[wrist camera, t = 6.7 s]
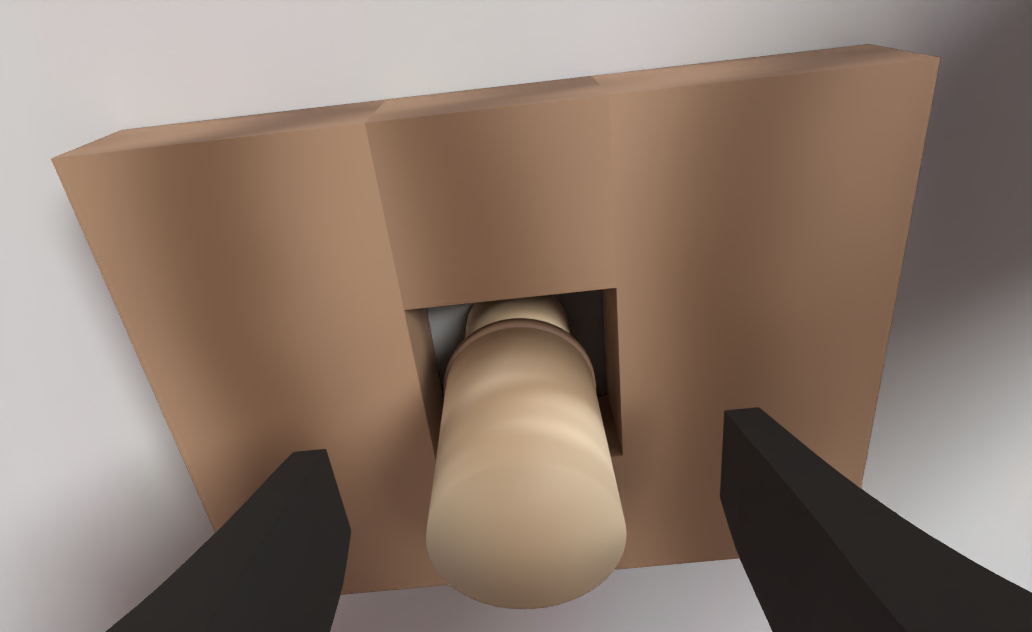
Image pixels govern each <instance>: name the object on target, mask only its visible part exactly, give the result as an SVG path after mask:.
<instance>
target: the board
mask: <svg viewBox="0 0 1032 632" xmlns="http://www.w3.org/2000/svg"><path fill="white" fill-rule="evenodd" d="M939 62H940V57H936V56H930V55H925V54H919V53H914V52H909V51H903V50H898V49H892V48H887V47H882V46H876V45H871V44H865V45H857V46H848V47H839V48H831V49H822V50H813V51H805V52H796V53H787V54H778V55H770V56H761V57H752V58H744V59H735V60H726V61H718V62H709V63H700V64H692V65H683V66H674V67H665V68H657V69H648V70H639V71H631V72H622V73H613V74H605V75H596V76H587V77H578V78H570V79H561V80H552V81H544V82H535V83H526V84H518V85H509V86H500V87H491V88H483V89H474V90H465V91H457V92H448V93H439V94H431V95H422V96H413V97H404V98H396V99H387V100H378V101H370V102H361V103H352V104H344V105H335V106H326V107H317V108H309V109H300V110H291V111H283V112H274V113H265V114H257V115H248V116H239V117H230V118H222V119H213V120H204V121H196V122H187V123H178V124H170V125H161V126H152V127H144V128H135V129H126V130H120V131H118V132H116V133H113V134H111V135H108V136H106V137H103V138H101V139H98V140H96V141H93V142H91V143H88V144H86V145H84V146H81V147H79V148H76V149H74V150H71V151H69V152H66V153H64V154H61V155H59V156H56V157H54V158H52V159H51V160H52V162H53V165H54V167H55V169H56V171H57V174H58V176H59V178H60V180H61V183H62V185H63V187H64V190H65V192H66V194H67V196H68V199H69V201H70V203H71V205H72V208H73V210H74V212H75V215H76V217H77V219H78V221H79V224H80V226H81V228H82V230H83V233H84V235H85V237H86V240H87V242H88V244H89V246H90V249H91V251H92V253H93V255H94V258H95V260H96V262H97V265H98V267H99V269H100V271H101V274H102V276H103V278H104V280H105V283H106V285H107V287H108V290H109V292H110V294H111V296H112V299H113V301H114V303H115V305H116V308H117V310H118V312H119V315H120V317H121V319H122V321H123V324H124V326H125V328H126V330H127V333H128V335H129V337H130V340H131V342H132V344H133V346H134V349H135V351H136V353H137V355H138V358H139V360H140V362H141V365H142V367H143V369H144V371H145V374H146V376H147V378H148V380H149V383H150V385H151V387H152V390H153V392H154V394H155V396H156V399H157V401H158V403H159V405H160V408H161V410H162V412H163V415H164V417H165V419H166V421H167V424H168V426H169V428H170V430H171V433H172V435H173V437H174V440H175V442H176V444H177V446H178V449H179V451H180V453H181V455H182V458H183V460H184V462H185V465H186V467H187V469H188V471H189V474H190V476H191V478H192V480H193V483H194V485H195V487H196V489H197V492H198V494H199V496H200V499H201V501H202V503H203V505H204V508H205V510H206V512H207V514H208V517H209V519H210V521H211V524H212V526H213V528H214V530H215V533H216V532H217V531H218V530H219V529H220V528H221V527H222V526H223V525H224V524H225V523H226V522H227V521H228V520H229V519H230V517H231V516H232V515H233V514H234V513H235V512H236V511H237V510H238V509H239V508H240V507H241V506H242V505H243V504H244V503H245V502H246V501H247V500H248V499H249V498H250V497H251V496H252V495H253V493H254V492H255V491H256V490H257V489H258V488H259V487H260V486H261V485H262V484H263V483H264V482H265V481H266V480H267V479H268V477H269V476H270V475H271V474H272V473H273V472H274V471H275V470H276V469H277V468H278V467H279V466H280V465H281V464H282V463H283V462H284V461H285V460H286V459H287V458H288V457H289V456H290V455H291V454H292V453H293V452H297V451H307V450H318V449H326V450H327V453H328V457H329V460H330V463H331V466H332V470H333V473H334V476H335V479H336V482H337V486H338V489H339V492H340V495H341V499H342V502H343V505H344V508H345V511H346V515H347V518H348V521H349V524H350V528H351V538H350V545H349V552H348V559H347V565H346V571H345V577H344V583H343V587H342V591H341V594H340V595H343V594H354V593H365V592H375V591H386V590H397V589H408V588H419V587H430V586H441V585H449V584H448V583H447V582H446V581H445V580H444V579H443V578H442V577H441V576H440V575H439V573H438V572H437V570H436V569H435V568H434V566H433V564H432V562H431V560H430V558H429V554H428V551H427V545H426V531H427V523H428V515H429V508H430V501H431V493H432V486H433V478H434V471H435V463H436V456H437V449H438V441H439V434H440V426H441V419H442V412H443V404H444V398H443V393H442V387H441V382H440V377H439V372H438V367H437V361H436V356H435V351H434V346H433V340H432V335H431V330H430V325H429V320H428V314H427V309H426V308H428V307H438V306H447V305H457V304H466V303H476V302H485V301H495V300H504V299H514V298H523V297H533V296H543V295H552V294H562V293H571V292H581V291H590V290H600V289H602V293H603V314H604V334H605V354H606V374H607V395H604V396H597V399H598V403H599V408H600V412H601V417H602V421H603V426H604V430H605V435H606V439H607V443H608V448H609V452H610V457H611V461H612V466H613V470H614V475H615V479H616V484H617V488H618V492H619V497H620V501H621V506H622V510H623V515H624V519H625V524H626V533H627V536H626V545H625V549H624V552H623V555H622V557H621V559H620V561H619V563H618V565H617V566H616V568H615V569H614V570H616V569H627V568H638V567H649V566H660V565H671V564H682V563H693V562H704V561H715V560H726V559H737V558H739V555H738V553H737V551H736V548H735V545H734V542H733V539H732V536H731V533H730V530H729V526H728V523H727V520H726V516H725V513H724V510H723V506H722V503H721V500H720V482H721V462H722V443H723V424H724V410H733V409H744V408H754V407H759V408H761V409H762V410H763V411H764V412H766V413H767V414H768V415H769V416H771V417H772V418H773V419H774V420H775V421H777V422H778V423H779V424H780V425H781V426H783V427H784V428H785V429H786V430H787V431H789V432H790V433H791V434H792V435H793V436H795V437H796V438H797V439H798V440H799V441H801V442H802V443H803V444H804V445H806V446H807V447H808V448H809V449H810V450H812V451H813V452H814V453H815V454H817V455H818V456H819V457H820V458H822V459H823V460H824V461H825V462H827V463H828V464H829V465H831V466H832V467H833V468H834V469H836V470H837V471H838V472H840V473H841V474H842V475H844V476H845V477H846V478H848V479H849V480H850V481H852V482H853V483H854V484H856V485H857V486H858V487H860V488H861V486H862V480H863V475H864V469H865V464H866V459H867V453H868V448H869V442H870V437H871V431H872V426H873V421H874V415H875V410H876V404H877V399H878V393H879V388H880V383H881V377H882V372H883V366H884V361H885V355H886V350H887V345H888V339H889V334H890V328H891V323H892V317H893V312H894V307H895V301H896V296H897V290H898V285H899V279H900V274H901V269H902V263H903V258H904V252H905V247H906V241H907V236H908V231H909V225H910V220H911V214H912V209H913V203H914V198H915V193H916V187H917V182H918V176H919V171H920V165H921V160H922V155H923V149H924V144H925V138H926V133H927V127H928V122H929V117H930V111H931V106H932V100H933V95H934V89H935V84H936V79H937V73H938V68H939Z"/></svg>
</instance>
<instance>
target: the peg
mask: <svg viewBox="0 0 1032 632" xmlns="http://www.w3.org/2000/svg"><path fill="white" fill-rule="evenodd" d="M626 536H627V533H626V524H625V519H624V515H623V510H622V506H621V501H620V497H619V492H618V488H617V484H616V479H615V475H614V470H613V466H612V461H611V457H610V452H609V448H608V443H607V439H606V435H605V430H604V426H603V421H602V417H601V412H600V408H599V403H598V399H597V394H596V381H595V375H594V371H593V367H592V363H591V360H590V358H589V356H588V354H587V352H586V351H585V349H584V347H583V346H582V345H581V344H580V343H579V342H578V340H577V339H575V338H574V337H573V336H572V335H571V334H570V330H569V325H568V319H567V316H566V313H565V310H564V308H563V307H562V305H561V303H560V302H559V301H558V300H557V299H556V298H555V297H554V296H553V295H543V296H533V297H523V298H514V299H504V300H495V301H485V302H476V303H474V305H473V306H472V308H471V310H470V312H469V315H468V318H467V323H466V333H465V339H464V340H463V341H462V342H461V343H460V344H459V345H458V347H457V348H456V349H455V351H454V352H453V354H452V356H451V357H450V360H449V362H448V365H447V368H446V373H445V379H444V404H443V412H442V419H441V426H440V434H439V441H438V449H437V456H436V463H435V471H434V478H433V486H432V493H431V501H430V508H429V515H428V523H427V531H426V545H427V551H428V554H429V558H430V560H431V562H432V564H433V566H434V568H435V569H436V570H437V572H438V573H439V575H440V576H441V577H442V578H443V579H444V580H445V581H446V582H447V583H448V584H449V585H451V586H452V587H453V588H454V589H456V590H457V591H459V592H461V593H462V594H464V595H466V596H468V597H470V598H472V599H474V600H477V601H480V602H482V603H485V604H489V605H493V606H497V607H504V608H512V609H535V608H544V607H549V606H554V605H558V604H562V603H565V602H568V601H571V600H573V599H576V598H578V597H580V596H582V595H584V594H586V593H588V592H590V591H591V590H592V589H594V588H595V587H597V586H598V585H600V584H601V583H602V582H603V581H604V580H605V579H606V578H607V577H608V576H609V575H610V574H611V573H612V572H613V571H614V569H615V568H616V566H617V565H618V563H619V561H620V559H621V557H622V555H623V552H624V549H625V545H626Z"/></svg>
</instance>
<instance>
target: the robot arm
mask: <svg viewBox="0 0 1032 632" xmlns="http://www.w3.org/2000/svg"><path fill="white" fill-rule="evenodd" d="M720 500H721V503H722V506H723V510H724V513H725V516H726V520H727V523H728V526H729V530H730V533H731V536H732V539H733V542H734V545H735V548H736V551H737V553H738V555H739V558H740V560H741V562H742V565H743V567H744V569H745V571H746V574H747V576H748V578H749V580H750V583H751V585H752V587H753V589H754V592H755V594H756V596H757V598H758V600H759V603H760V605H761V607H762V609H763V611H764V614H765V616H766V618H767V620H768V622H769V625H770V627H771V629H772V631H773V632H1032V593H1031V592H1029V591H1028V590H1026V589H1024V588H1022V587H1020V586H1018V585H1016V584H1014V583H1012V582H1010V581H1008V580H1006V579H1004V578H1002V577H1001V576H999V575H997V574H995V573H993V572H992V571H990V570H988V569H986V568H984V567H983V566H981V565H979V564H977V563H975V562H974V561H972V560H970V559H968V558H967V557H965V556H963V555H962V554H960V553H958V552H957V551H955V550H953V549H952V548H950V547H948V546H947V545H945V544H943V543H942V542H940V541H938V540H937V539H935V538H933V537H932V536H930V535H928V534H927V533H925V532H924V531H922V530H921V529H919V528H918V527H916V526H914V525H913V524H911V523H910V522H908V521H907V520H905V519H904V518H902V517H901V516H899V515H898V514H897V513H895V512H894V511H892V510H891V509H889V508H888V507H886V506H885V505H884V504H882V503H881V502H879V501H878V500H876V499H875V498H873V497H872V496H871V495H869V494H868V493H866V492H865V491H864V490H862V489H861V488H860V487H858V486H857V485H856V484H854V483H853V482H852V481H850V480H849V479H848V478H846V477H845V476H844V475H842V474H841V473H840V472H838V471H837V470H836V469H834V468H833V467H832V466H831V465H829V464H828V463H827V462H825V461H824V460H823V459H822V458H820V457H819V456H818V455H817V454H815V453H814V452H813V451H812V450H810V449H809V448H808V447H807V446H806V445H804V444H803V443H802V442H801V441H799V440H798V439H797V438H796V437H795V436H793V435H792V434H791V433H790V432H789V431H787V430H786V429H785V428H784V427H783V426H781V425H780V424H779V423H778V422H777V421H775V420H774V419H773V418H772V417H771V416H769V415H768V414H767V413H766V412H764V411H763V410H762V409H761V408H759V407H754V408H744V409H733V410H724V424H723V443H722V462H721V482H720ZM350 538H351V528H350V524H349V521H348V518H347V515H346V511H345V508H344V505H343V502H342V499H341V495H340V492H339V489H338V486H337V482H336V479H335V476H334V473H333V470H332V466H331V463H330V460H329V457H328V453H327V450H326V449H318V450H307V451H297V452H293V453H292V454H291V455H290V456H289V457H288V458H287V459H286V460H285V461H284V462H283V463H282V464H281V465H280V466H279V467H278V468H277V469H276V470H275V471H274V472H273V473H272V474H271V475H270V476H269V477H268V479H267V480H266V481H265V482H264V483H263V484H262V485H261V486H260V487H259V488H258V489H257V490H256V491H255V492H254V493H253V495H252V496H251V497H250V498H249V499H248V500H247V501H246V502H245V503H244V504H243V505H242V506H241V507H240V508H239V509H238V510H237V511H236V512H235V513H234V514H233V515H232V516H231V517H230V519H229V520H228V521H227V522H226V523H225V524H224V525H223V526H222V527H221V528H220V529H219V530H218V531H217V532H216V533H215V534H214V535H213V536H212V537H211V538H210V539H209V540H208V541H207V542H206V543H205V544H204V545H203V546H202V547H201V548H199V549H198V550H197V551H196V552H195V553H194V554H193V555H192V556H191V557H190V558H189V559H188V560H187V561H186V562H185V563H184V564H183V565H182V566H181V567H180V568H179V569H178V570H176V571H175V572H174V573H173V574H172V575H171V576H170V577H169V578H168V579H167V580H166V581H165V582H164V583H163V584H162V585H160V586H159V587H158V588H157V589H156V590H155V591H154V592H153V593H151V594H150V595H149V596H148V597H147V598H146V599H144V600H143V601H142V602H141V603H140V604H139V605H138V606H136V607H135V608H134V609H133V610H131V611H130V612H129V613H128V614H127V615H125V616H124V617H123V618H122V619H121V620H119V621H118V622H117V623H116V624H114V625H113V626H112V627H111V628H110V629H108V630H107V631H106V632H330V630H331V626H332V623H333V619H334V616H335V612H336V609H337V605H338V601H339V598H340V594H341V591H342V587H343V583H344V577H345V571H346V565H347V559H348V552H349V545H350Z"/></svg>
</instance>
